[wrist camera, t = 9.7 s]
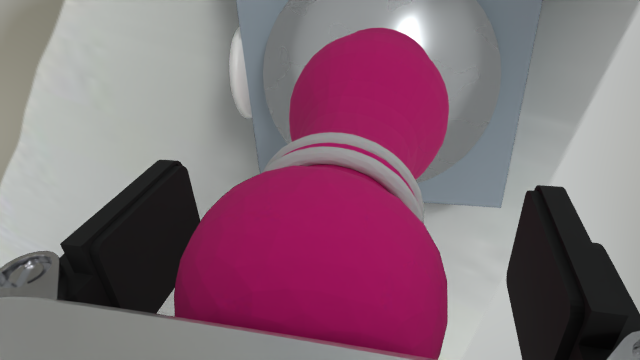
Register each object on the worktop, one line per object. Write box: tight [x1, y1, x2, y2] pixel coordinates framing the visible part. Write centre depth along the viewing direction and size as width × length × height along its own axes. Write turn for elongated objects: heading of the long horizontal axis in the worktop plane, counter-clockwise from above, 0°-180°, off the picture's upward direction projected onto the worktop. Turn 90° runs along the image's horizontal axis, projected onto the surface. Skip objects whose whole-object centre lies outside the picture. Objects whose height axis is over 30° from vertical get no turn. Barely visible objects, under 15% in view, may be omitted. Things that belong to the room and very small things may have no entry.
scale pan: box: [263, 0, 501, 183], centre depth 23 cm, size 13×13×1 cm
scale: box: [229, 0, 543, 208], centre depth 26 cm, size 17×16×6 cm
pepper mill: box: [174, 28, 449, 360], centre depth 14 cm, size 7×7×20 cm
